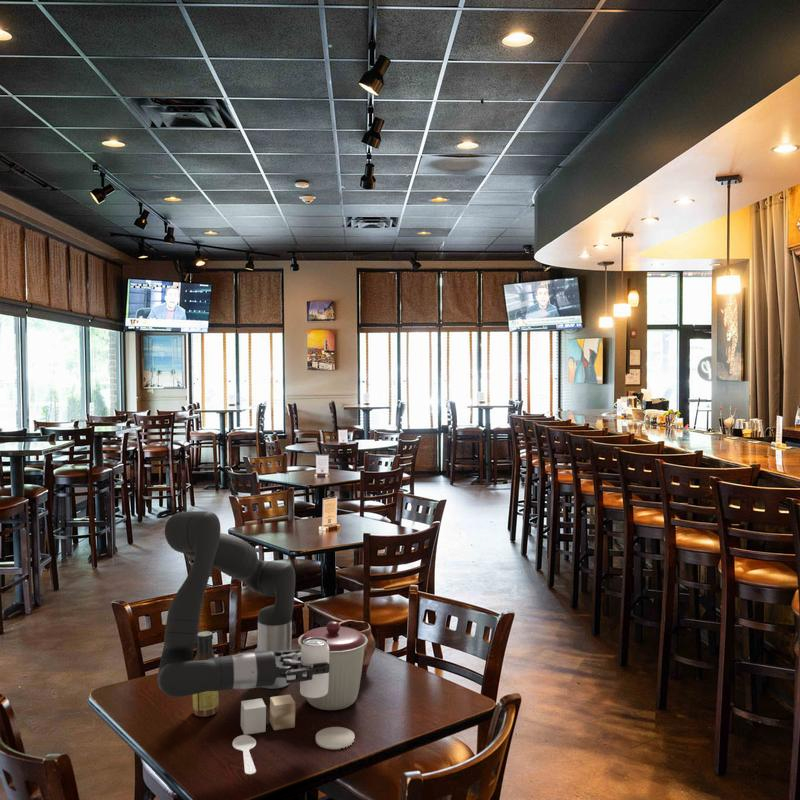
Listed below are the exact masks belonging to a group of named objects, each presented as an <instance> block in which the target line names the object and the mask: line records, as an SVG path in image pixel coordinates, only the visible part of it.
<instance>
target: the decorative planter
mask: <svg viewBox="0 0 800 800" xmlns="http://www.w3.org/2000/svg"><path fill="white" fill-rule="evenodd" d="M338 623H339V624H340V627H347V628H351V629H354V630H357V631H359V632H360V633H362V634H364V635H365V636H366V637H367V639H368V642H367V644H366V645H365V649H364V657H363V665H362V672H361V676H363V675H365V674H367V671H368V668H369V666H370V663H371V660H372V657H373V654H374V652H375V649H376V641H375V638H374V636H373V634H372V628H371V625H370V624H369V623H368V622H366V621H362V620H360V621H358V620H354V619H353V620H352V619H346V620H342V621H340V622H338Z"/></svg>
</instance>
